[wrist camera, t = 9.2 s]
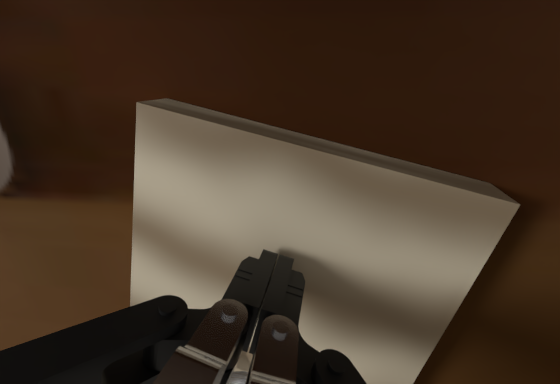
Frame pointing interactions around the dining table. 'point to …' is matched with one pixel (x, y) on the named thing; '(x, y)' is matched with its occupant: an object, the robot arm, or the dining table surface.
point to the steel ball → (238, 377)
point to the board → (310, 231)
